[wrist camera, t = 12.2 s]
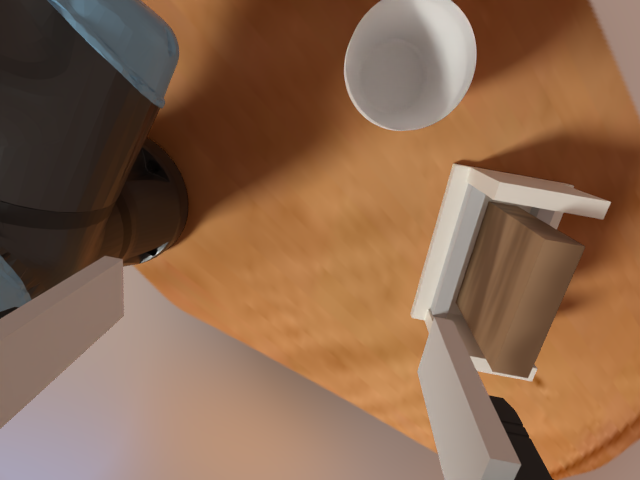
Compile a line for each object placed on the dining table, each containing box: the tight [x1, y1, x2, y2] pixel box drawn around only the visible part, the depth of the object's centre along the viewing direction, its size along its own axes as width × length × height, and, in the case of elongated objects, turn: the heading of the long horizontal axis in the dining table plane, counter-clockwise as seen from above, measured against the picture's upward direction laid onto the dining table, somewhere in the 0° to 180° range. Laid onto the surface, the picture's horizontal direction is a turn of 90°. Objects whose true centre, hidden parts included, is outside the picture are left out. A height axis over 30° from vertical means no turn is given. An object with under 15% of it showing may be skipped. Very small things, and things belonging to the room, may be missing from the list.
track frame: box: [411, 163, 611, 381], centre depth 38 cm, size 12×18×9 cm, turn 171°
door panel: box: [456, 201, 585, 378], centre depth 35 cm, size 3×12×12 cm, turn 171°
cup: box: [344, 0, 477, 131], centre depth 31 cm, size 9×9×12 cm
